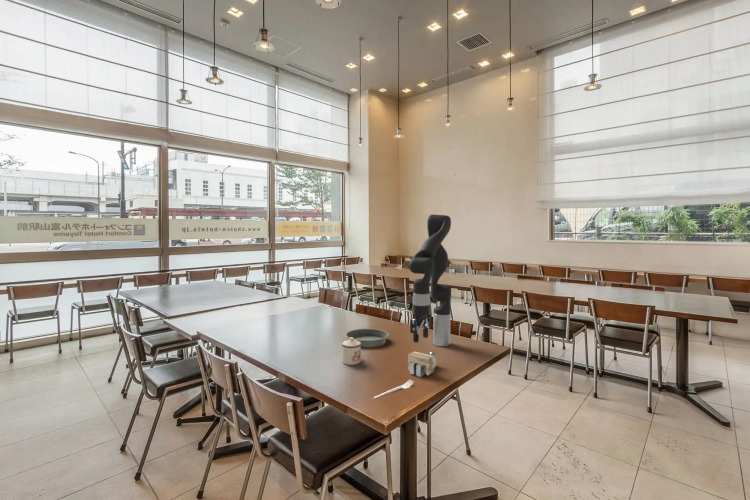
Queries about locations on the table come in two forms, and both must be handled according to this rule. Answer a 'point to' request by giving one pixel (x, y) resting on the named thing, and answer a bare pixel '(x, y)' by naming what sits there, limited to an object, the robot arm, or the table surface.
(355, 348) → the teacup with lid
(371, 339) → the cake pan
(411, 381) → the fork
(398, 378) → the table surface
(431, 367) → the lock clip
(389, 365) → the table surface
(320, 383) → the table surface
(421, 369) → the fixed jaw
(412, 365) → the moving jaw
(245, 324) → the table surface
